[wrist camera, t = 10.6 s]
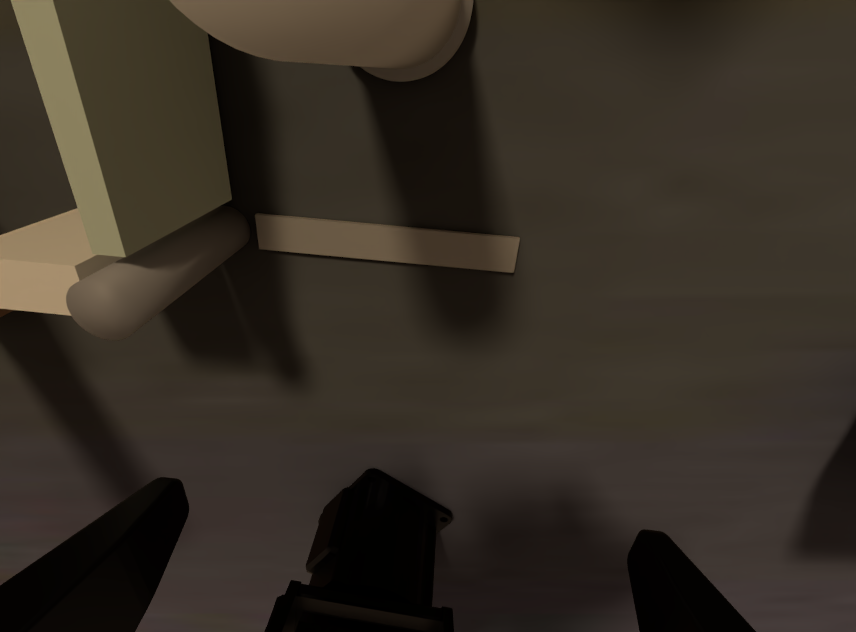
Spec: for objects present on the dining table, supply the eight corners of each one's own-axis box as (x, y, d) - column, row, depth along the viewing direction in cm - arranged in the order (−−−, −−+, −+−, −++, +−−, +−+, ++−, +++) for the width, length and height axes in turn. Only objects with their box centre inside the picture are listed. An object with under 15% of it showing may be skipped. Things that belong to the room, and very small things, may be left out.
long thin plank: (120, 238, 20) (-59, 323, 13) (107, 195, 19) (-92, 263, 12) (512, 274, 20) (539, 383, 13) (520, 232, 19) (553, 325, 12)
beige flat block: (231, 199, 19) (125, 257, 13) (177, 194, 19) (46, 250, 13) (179, -159, 13) (-45, -343, 7) (103, -164, 13) (-179, -350, 8)
